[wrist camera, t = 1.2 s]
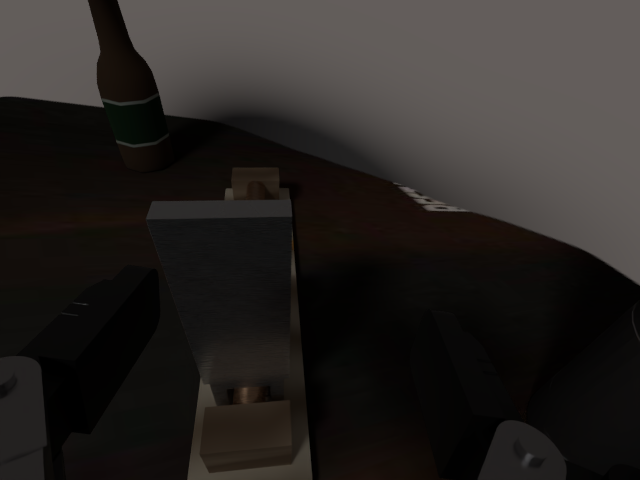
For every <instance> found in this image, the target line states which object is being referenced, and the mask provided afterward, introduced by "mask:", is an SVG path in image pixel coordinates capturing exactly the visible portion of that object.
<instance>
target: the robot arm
mask: <svg viewBox="0 0 640 480" xmlns="http://www.w3.org/2000/svg"><path fill="white" fill-rule="evenodd" d="M159 318H160V299H159V279H158V272H157V270H156V269H153V268H146V267H139V266H132V265H127V266H126V267H124V268H123V269H122V270H121V271H120V272H119V274H118V275H117V276H116V277H115V278H114V279H113V280H103V281H101V282H99V283H97V284H95V285H93V286H91V287H89V288H87V289H85V290H84V291H83V292H82V293H81V294H80V295H79V296H78V297H77V298H76V299H75V300H74V301H73V304H70V305H69V306H68V307H67V308H66V309H65V310H63V311H62V314H61V315H58V316H57V317H56V318H55V319H54V320H53V321H52V322H51V323H50V324H49V325H48V326H47V327H46V328H45V329H44V330H43V331H42V332H40V333H39V334H38V335H37V336H36V337H35V338H34V339H33V340H32V341H31V342H30V343H29V344H28V345H27V346H26V347H25V348H24V349H23V350H22V351H21V352H20V353H18V354H17V355H16V356H10V357H4V358H0V480H66V474H65V466H64V457H63V450H62V445H63V444H64V442H65V441H66V439H67V438H68V436H69V435H70V434H71V432H76V433H84V434H90V433H91V432H92V430H93V429H94V427H95V426H96V424H97V422H98V421H99V419H100V418H101V416H102V414H103V413H104V411H105V410H106V408H107V407H108V405H109V403H110V402H111V400H112V399H113V397H114V396H115V394H116V392H117V391H118V389H119V388H120V386H121V384H122V383H123V381H124V380H125V378H126V377H127V375H128V373H129V372H130V370H131V369H132V367H133V366H134V364H135V362H136V361H137V359H138V358H139V356H140V354H141V353H142V351H143V350H144V348H145V347H146V345H147V343H148V342H149V340H150V339H151V337H152V335H153V334H154V332H155V330H156V328H157V325H158V322H159ZM490 361H491V360H490V359H489V357H488V355H487V353H486V351H485V349H484V347H483V346H482V345H481V344H480V343H479V342H478V341H477V340H476V339H475V338H474V337H473V336H472V335H471V334H470V333H469V332H463V330H462V328H461V326H460V324H459V322H458V320H457V318H456V316H455V315H454V314H453V313H449V312H442V311H435V310H429V309H428V310H426V311H425V313H424V315H423V317H422V320H421V323H420V326H419V328H418V331H417V334H416V336H415V339H414V342H413V345H412V348H411V352H410V367H411V372H412V375H413V379H414V383H415V387H416V390H417V394H418V398H419V402H420V406H421V409H422V413H423V417H424V421H425V424H426V428H427V432H428V436H429V440H430V443H431V447H432V451H433V455H434V459H435V462H436V466H437V470H438V474H439V477H440V478H445V479H453V480H640V300H639V301H638V302H636V304H634V305H633V306H632V307H631V308H630V309H629V310H628V311H627V312H625V313H624V314H623V315H622V316H621V317H620V318H619V319H618V320H616V321H615V322H614V323H613V324H612V325H611V326H610V327H609V328H607V329H606V330H605V331H604V332H603V333H602V334H601V335H600V336H598V337H597V338H596V339H595V340H594V341H593V342H592V343H591V344H590V345H588V346H587V347H586V348H585V349H584V350H583V351H582V352H581V353H579V354H578V355H577V356H576V357H575V358H574V359H573V360H572V361H570V362H569V363H568V364H567V365H566V366H565V367H564V368H563V369H561V370H560V371H559V372H558V373H557V374H556V375H554V376H553V377H552V378H551V379H550V380H549V381H548V382H547V383H546V384H544V385H543V386H542V387H541V388H540V389H539V390H538V391H537V392H536V393H535V394H534V395H533V396H532V398H531V400H530V402H529V405H528V413H527V418H528V424H529V425H528V424H526V423H524V422H523V420H522V418H521V416H520V415H519V413H518V411H517V409H516V407H515V405H514V403H513V402H512V400H511V398H510V396H509V394H508V392H507V390H506V388H505V387H504V385H503V383H502V381H501V379H500V377H499V376H497V372H496V370H495V368H494V366H493V364H492V363H490Z"/></svg>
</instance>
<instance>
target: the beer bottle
mask: <svg viewBox="0 0 640 480" xmlns="http://www.w3.org/2000/svg"><path fill="white" fill-rule="evenodd" d="M88 2H89V6H90V10H91V14H92V17H93V21H94V25H95V29H96V32H97V36H98V40H99V45H100V51H101V53H100V56H99V59H98V62H97V85H98V89H99V92H100V96H101V99H102V102H103V105H104V108H105V111H106V113H107V116H108V119H109V122H110V125H111V127H112V130H113V133H114V136H115V139H116V141H117V144H118V147H119V150H120V153H121V155H122V158H123V160H124V163H125V165H126V167H127V168H128V169H131V170H134V171H138V172H141V173H147V172H153V171H159V170H163V169H164V168H166V167H167V166H168V165H170V164H171V163H172V162H173V161H174V155H173V149H172V145H171V141H170V137H169V133H168V129H167V124H166V120H165V116H164V112H163V108H162V104H161V100H160V96H159V92H158V89H157V85H156V82H155V79H154V76H153V73H152V71H151V69H150V68H149V66H148V64H147V63H146V61H145V60H144V59H143V58H142V57H141V56H140V55H139V54H138V52H136V50H135V49H134V47H133V44H132V42H131V40H130V38H129V35H128V32H127V29H126V26H125V23H124V20H123V17H122V14H121V10H120V8H119V4H118V1H117V0H88Z"/></svg>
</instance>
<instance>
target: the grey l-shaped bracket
mask: <svg viewBox="0 0 640 480" xmlns="http://www.w3.org/2000/svg"><path fill="white" fill-rule="evenodd" d="M146 221H147V224H148V227H149V230H150V233H151V235H152V238H153V241H154V244H155V247H156V250H157V253H158V255H159V258H160V261H161V264H162V267H163V270H164V273H165V276H166V278H167V281H168V284H169V287H170V290H171V293H172V296H173V298H174V301H175V304H176V307H177V310H178V313H179V316H180V318H181V321H182V324H183V327H184V330H185V333H186V336H187V338H188V341H189V344H190V347H191V350H192V353H193V356H194V358H195V361H196V364H197V367H198V370H199V373H200V376H201V378H202V381H203V384H204V385H205V384H210V387H211V390H212V393H213V396H214V400H215V403H216V406H225V405H233V395H234V389H235V388H248V387H261V386H265V402H273V401H284V378H289V370H290V314H291V259H292V208H291V200H226V201H152V204H151V207H150V210H149V212H148V215H147V218H146Z"/></svg>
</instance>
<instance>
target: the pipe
mask: <svg viewBox="0 0 640 480" xmlns="http://www.w3.org/2000/svg"><path fill="white" fill-rule="evenodd" d="M246 200H265V186H264V184H263V183H262V182H260V181H251V182H250V183H248V185H247V189H246ZM261 402H265V386H261V387H248V388H235V389H234V395H233V405H237V404H249V403H261Z"/></svg>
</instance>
